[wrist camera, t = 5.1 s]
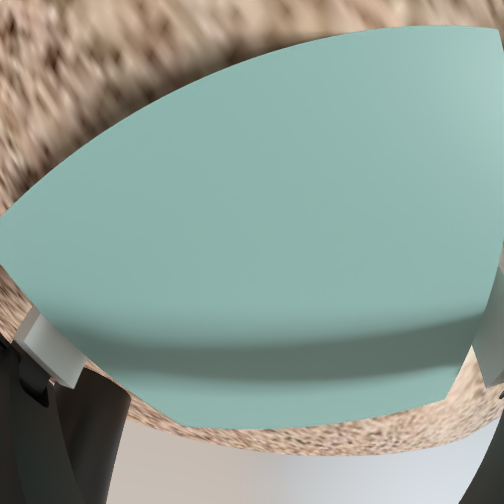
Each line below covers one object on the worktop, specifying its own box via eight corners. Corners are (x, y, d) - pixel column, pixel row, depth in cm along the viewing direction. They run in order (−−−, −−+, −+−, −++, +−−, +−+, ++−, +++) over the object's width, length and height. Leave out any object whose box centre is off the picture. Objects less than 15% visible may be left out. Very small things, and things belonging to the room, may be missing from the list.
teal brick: (89, 148, 10) (-19, 237, 5) (374, 36, 6) (497, 28, 2) (206, 326, 16) (182, 426, 11) (411, 286, 12) (444, 399, 8)
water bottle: (61, 376, 27) (14, 523, 9) (53, 345, 21) (-10, 537, 3) (132, 411, 30) (96, 560, 12) (145, 392, 24) (100, 589, 6)
